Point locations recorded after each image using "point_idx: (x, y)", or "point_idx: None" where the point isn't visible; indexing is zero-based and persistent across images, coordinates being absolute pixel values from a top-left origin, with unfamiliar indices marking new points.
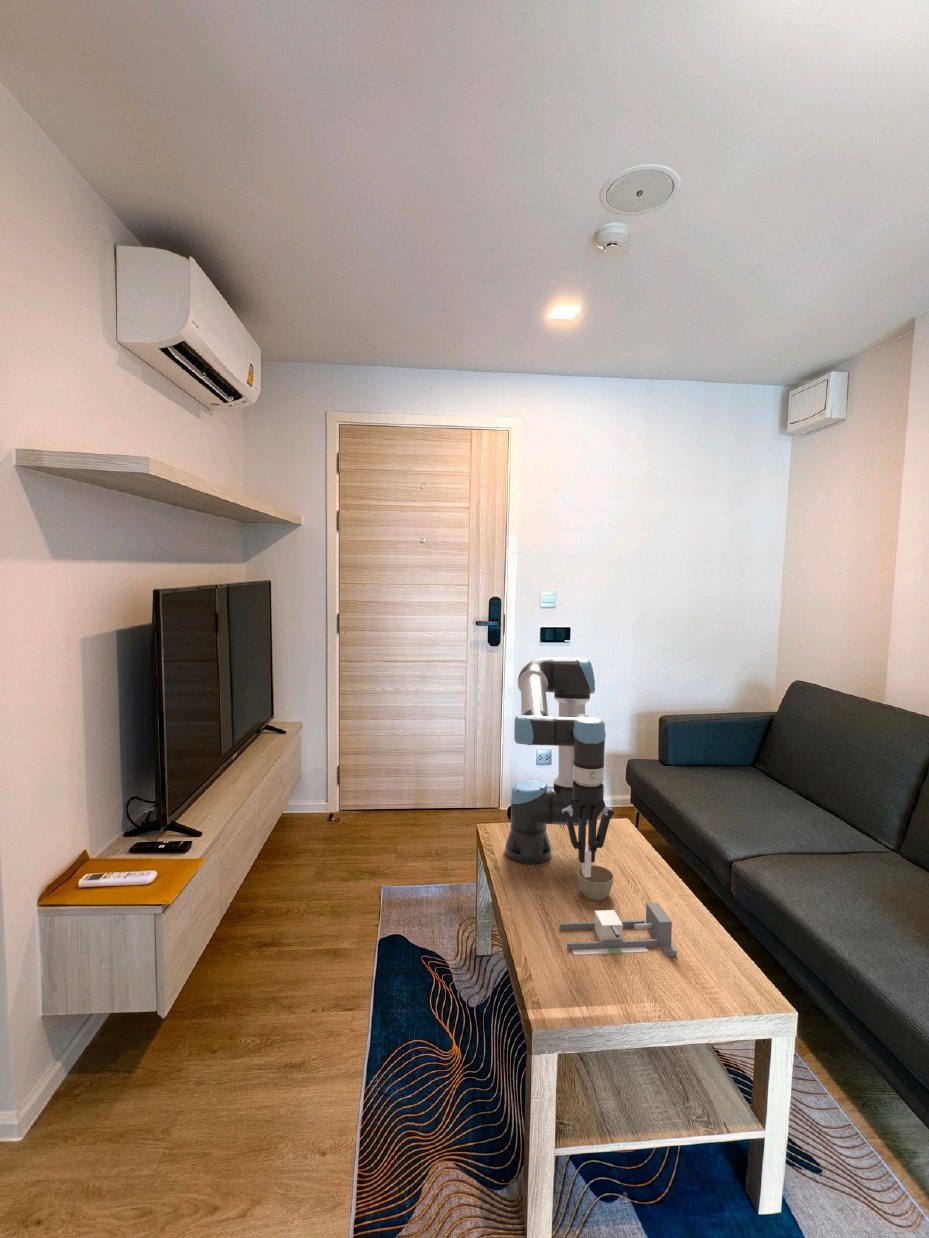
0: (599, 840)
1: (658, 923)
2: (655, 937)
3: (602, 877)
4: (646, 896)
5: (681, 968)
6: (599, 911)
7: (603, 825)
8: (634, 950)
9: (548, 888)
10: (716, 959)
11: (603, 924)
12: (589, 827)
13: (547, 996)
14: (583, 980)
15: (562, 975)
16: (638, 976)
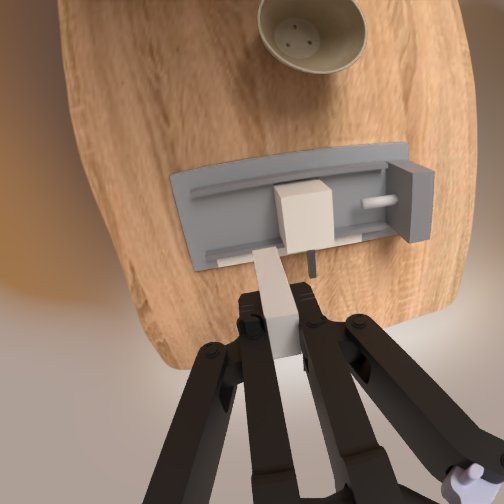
0: (358, 381)
1: (406, 235)
2: (388, 209)
3: (331, 4)
4: (412, 44)
5: (395, 257)
6: (292, 199)
7: (407, 444)
8: (338, 242)
9: (177, 10)
10: (447, 231)
11: (290, 250)
12: (327, 427)
13: (176, 335)
14: (231, 303)
15: (197, 297)
16: (324, 283)
